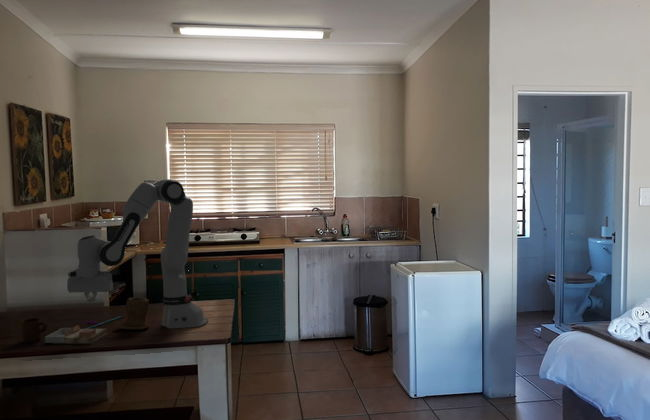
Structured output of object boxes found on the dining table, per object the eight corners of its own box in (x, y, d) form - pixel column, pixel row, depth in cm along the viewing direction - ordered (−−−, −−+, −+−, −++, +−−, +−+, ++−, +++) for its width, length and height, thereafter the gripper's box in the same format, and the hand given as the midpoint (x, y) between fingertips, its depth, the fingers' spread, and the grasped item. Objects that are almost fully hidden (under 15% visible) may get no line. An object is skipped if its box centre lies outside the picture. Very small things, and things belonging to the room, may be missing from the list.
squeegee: (107, 314, 272) (122, 315, 268) (107, 317, 272) (122, 318, 268) (61, 330, 245) (76, 331, 242) (61, 333, 246) (77, 335, 242)
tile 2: (95, 333, 232) (95, 329, 231) (90, 336, 227) (90, 332, 226) (85, 333, 232) (85, 329, 232) (79, 336, 227) (79, 332, 227)
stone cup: (154, 325, 252) (153, 295, 251) (142, 332, 240) (141, 300, 240) (126, 324, 255) (125, 295, 254) (113, 331, 243) (111, 300, 242)
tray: (79, 334, 240) (79, 327, 240) (62, 343, 226) (62, 336, 226) (62, 334, 240) (62, 327, 240) (45, 343, 226) (44, 336, 226)
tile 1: (80, 328, 238) (78, 324, 238) (74, 331, 233) (72, 327, 233) (71, 333, 239) (69, 330, 238) (65, 337, 234) (63, 333, 233)
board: (107, 333, 239) (107, 328, 239) (92, 343, 225) (91, 337, 225) (80, 334, 240) (80, 328, 240) (63, 343, 226) (63, 337, 226)
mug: (54, 339, 233) (52, 318, 232) (41, 344, 226) (39, 323, 225) (32, 337, 236) (31, 317, 235) (18, 342, 228) (17, 322, 228)
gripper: (114, 269, 235) (116, 299, 236) (72, 270, 236) (74, 300, 237) (108, 272, 229) (109, 302, 229) (64, 273, 230) (66, 303, 231)
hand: (91, 301), depth 233 cm, fingers closed
